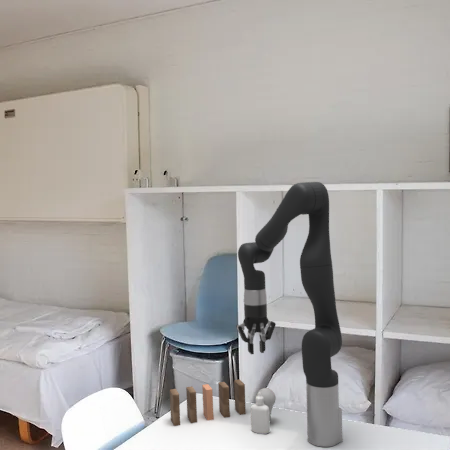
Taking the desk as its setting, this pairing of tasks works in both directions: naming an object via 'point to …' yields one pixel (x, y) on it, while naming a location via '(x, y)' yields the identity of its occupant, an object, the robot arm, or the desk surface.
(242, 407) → the domino
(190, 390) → the domino
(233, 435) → the desk surface
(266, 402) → the lightbulb
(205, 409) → the domino
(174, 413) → the domino
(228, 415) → the domino
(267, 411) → the eye dropper bottle
